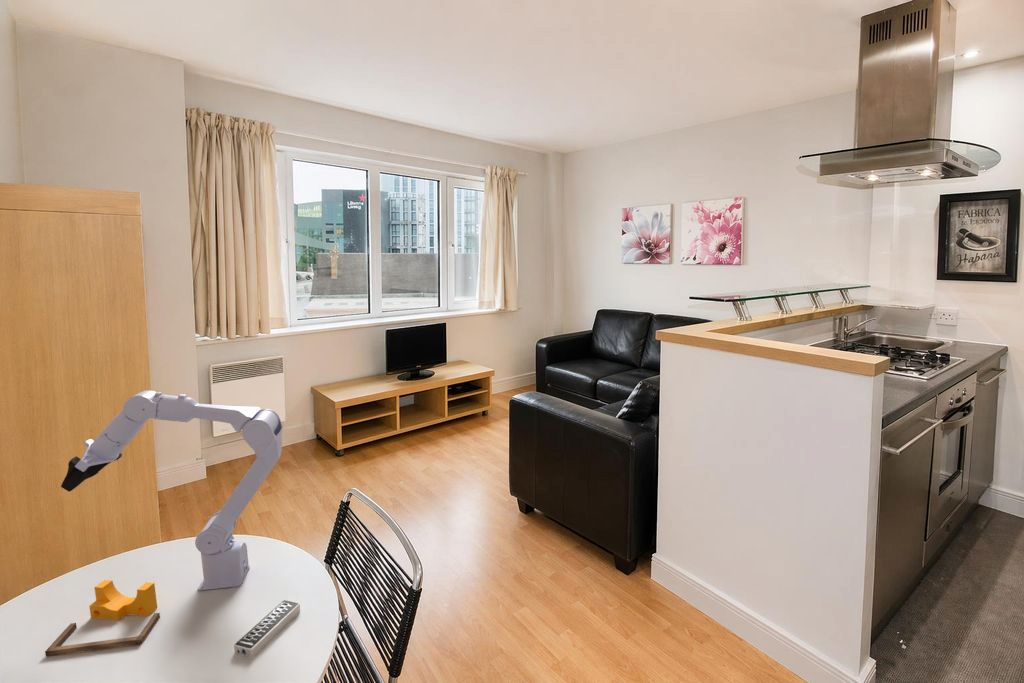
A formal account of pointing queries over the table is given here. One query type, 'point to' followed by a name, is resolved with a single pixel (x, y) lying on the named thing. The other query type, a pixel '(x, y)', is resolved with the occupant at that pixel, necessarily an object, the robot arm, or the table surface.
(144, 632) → the bay
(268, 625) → the multiport hub
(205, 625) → the table surface
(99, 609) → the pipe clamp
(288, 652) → the table surface
